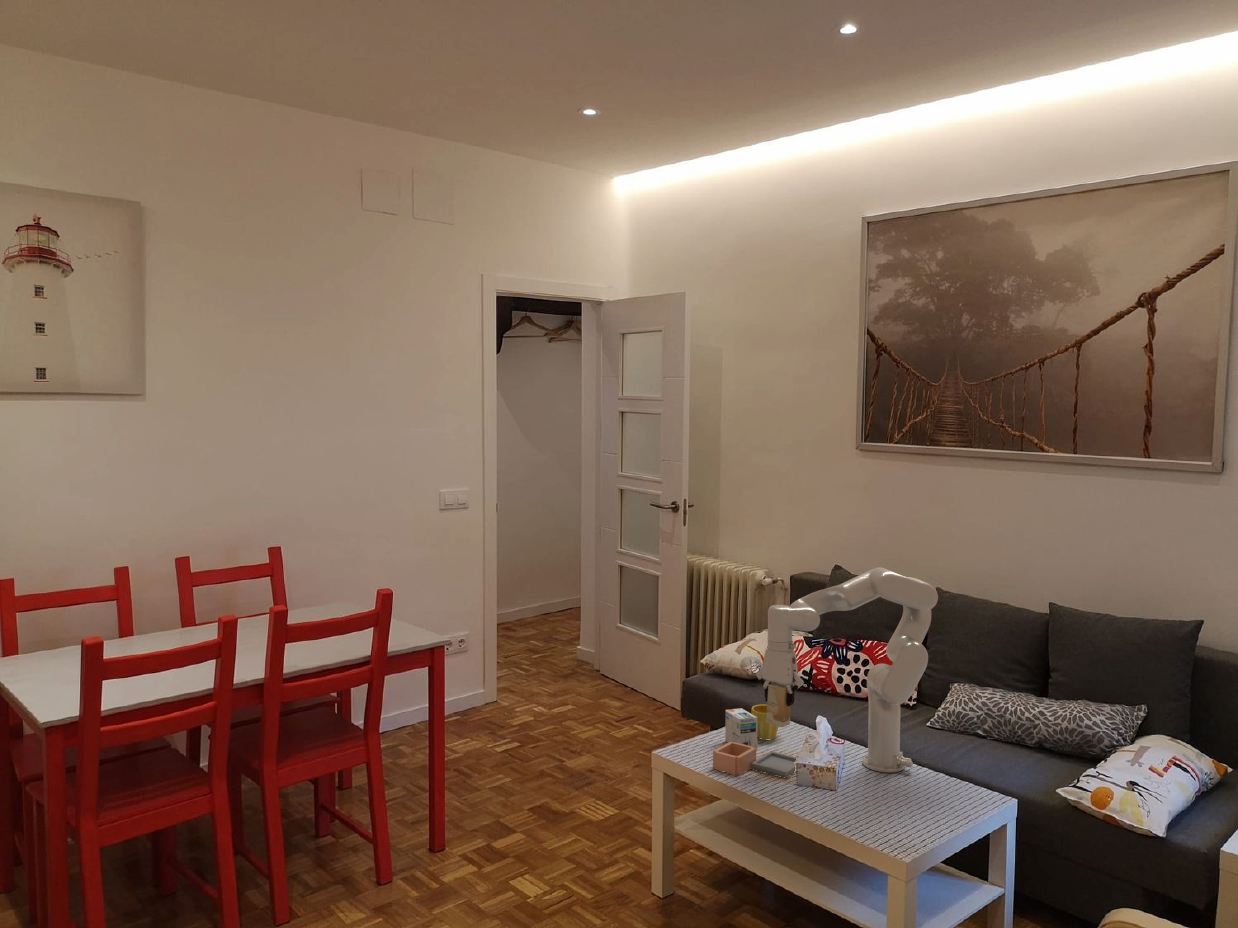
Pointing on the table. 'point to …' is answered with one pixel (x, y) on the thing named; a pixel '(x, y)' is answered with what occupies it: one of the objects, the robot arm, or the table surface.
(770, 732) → the plant pot
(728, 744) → the terracotta square pot
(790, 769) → the grey tray
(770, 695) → the skincare box
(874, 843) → the table surface
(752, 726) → the light bulb box
